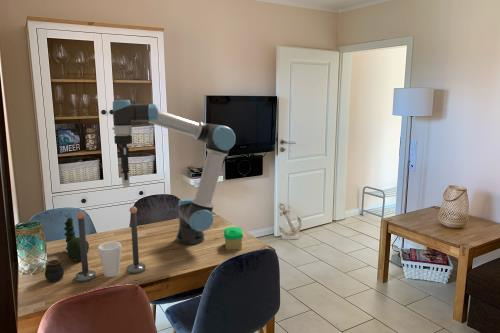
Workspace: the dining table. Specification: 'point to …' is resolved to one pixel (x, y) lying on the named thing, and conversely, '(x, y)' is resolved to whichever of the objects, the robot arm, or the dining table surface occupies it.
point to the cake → (233, 238)
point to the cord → (134, 236)
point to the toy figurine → (73, 241)
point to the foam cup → (110, 258)
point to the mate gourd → (54, 270)
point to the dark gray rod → (82, 242)
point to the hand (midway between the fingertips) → (125, 184)
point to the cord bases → (92, 274)
